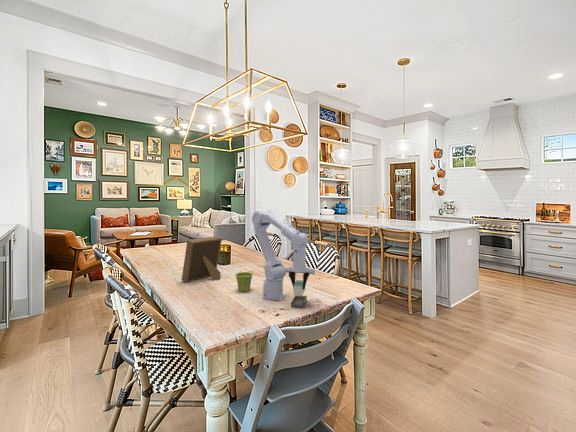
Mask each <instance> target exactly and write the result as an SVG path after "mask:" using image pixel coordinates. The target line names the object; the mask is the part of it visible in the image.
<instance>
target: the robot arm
mask: <svg viewBox="0 0 576 432" xmlns="http://www.w3.org/2000/svg"><path fill="white" fill-rule="evenodd" d="M251 221H252V224H253V227H254V233H255V236H256V238H257V241H258V243H259V247H260V249H261V251H262V254H263V257H264V260H265V262H266V263H265V265H264V266H263V270H264V275H265V278H266V279H264V281H263V283H262V284H263V285H262V286H263V288H262V299H264V300H273V301H282V300H283V299H284V297H285V296H286V295H285V294H284V290H283V289H284V279H285V276H286V275H287V273H288V277H289V279H290V281H291V284H292V289H293V288H294V283H295V282H296V274H302V278H303V279H302V280H303V289H305V290H306V287H307V286H306V285H307V281H308V280H309V279H308V278H309V276H310V274H311V275H315V274H316V269H315V268H313V269H312V268H309V267H306V264H307V263H306V262H307V261H306V258H307V257H306V256H307V254H306V252H307V251H306V250H307V249H306V247H307V244H308V243H309V237H308V235H307V234H306V233H304V232H300V230H298V229H296V228H295V227H293V225H292V224H286V223H284V222H283V221H282V220H281V219H279V218H278V216H276V215H275V213H274V212H273V211H271V210H270V209H268V210H255V211H254V212H253V213H252V216H251ZM270 225H272V226H274V227H275V228H277V229H278V230H280V232H281V235H282V236H284V237H285V238H286V239H287V240H289V241H290V244H291V245H292V250H293V251H292V255H293V256H292V259H293V260H292V267H285V265H283V262H282V261H281V260H280V259H278V258H277V256H276V253H275V251H274V247H273V245H272V242H271V240H270V237H269V235H268V231H267V229H268V228H269V226H270Z"/></svg>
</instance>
